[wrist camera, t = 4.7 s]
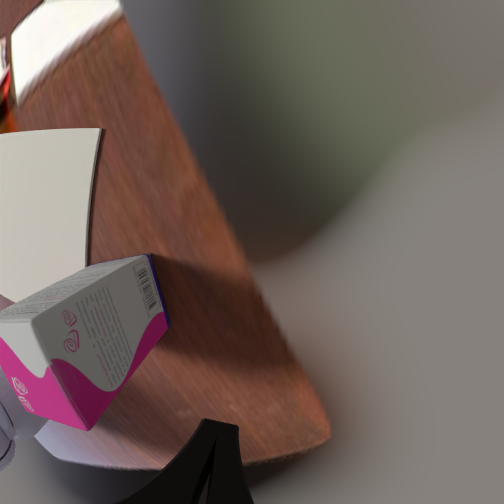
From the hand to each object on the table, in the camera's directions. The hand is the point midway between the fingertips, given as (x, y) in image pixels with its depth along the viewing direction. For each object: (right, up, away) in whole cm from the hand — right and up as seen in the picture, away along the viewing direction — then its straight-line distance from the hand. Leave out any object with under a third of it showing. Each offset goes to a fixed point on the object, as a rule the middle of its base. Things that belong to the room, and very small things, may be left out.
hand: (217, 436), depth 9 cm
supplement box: (-8, +4, +11) cm, 14 cm away
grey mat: (-20, +10, +10) cm, 25 cm away
